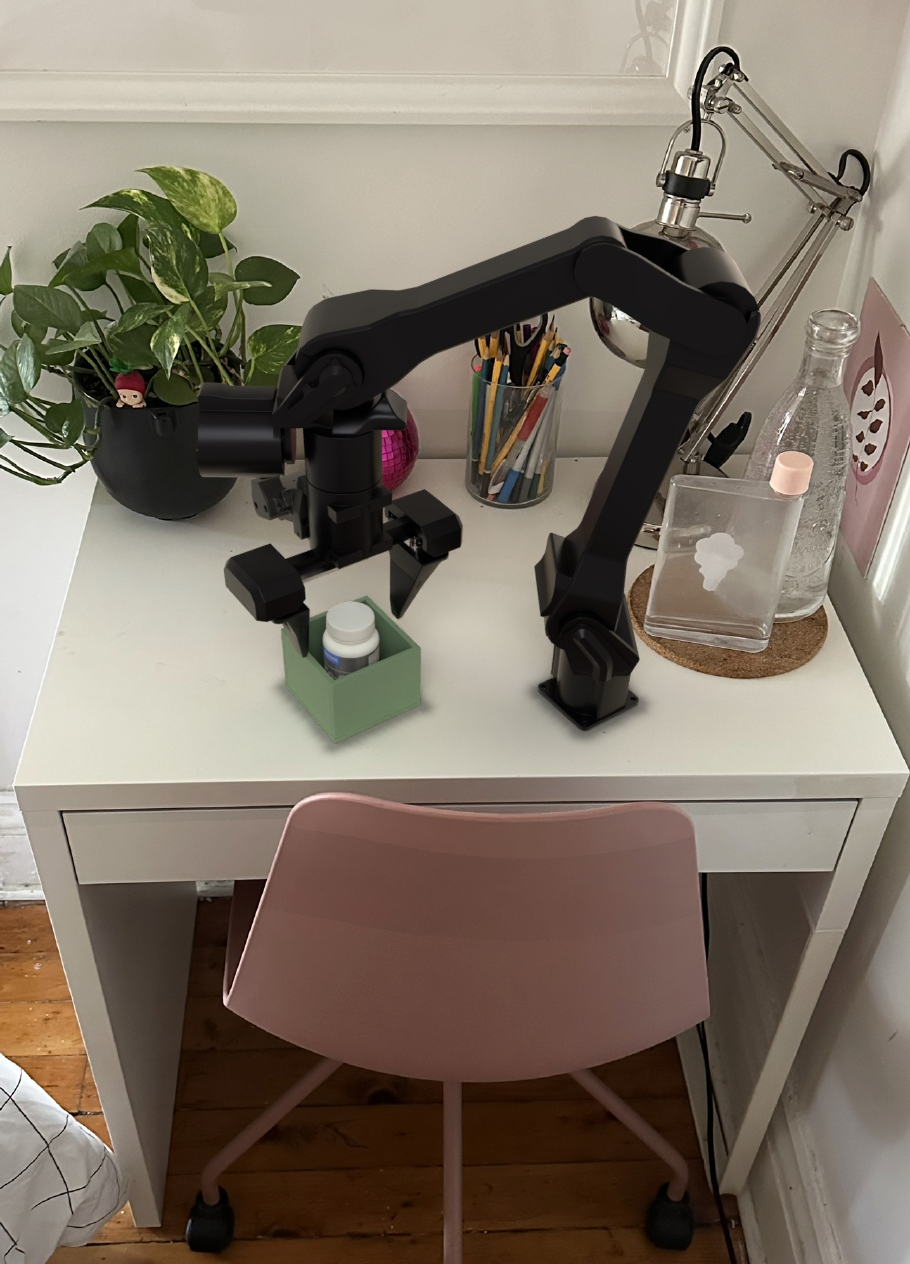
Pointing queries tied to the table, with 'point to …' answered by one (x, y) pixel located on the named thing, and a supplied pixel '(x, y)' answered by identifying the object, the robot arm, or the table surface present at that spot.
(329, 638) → the pill bottle
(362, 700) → the waste bin
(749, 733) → the table surface
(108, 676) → the table surface
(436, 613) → the table surface
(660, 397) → the robot arm
